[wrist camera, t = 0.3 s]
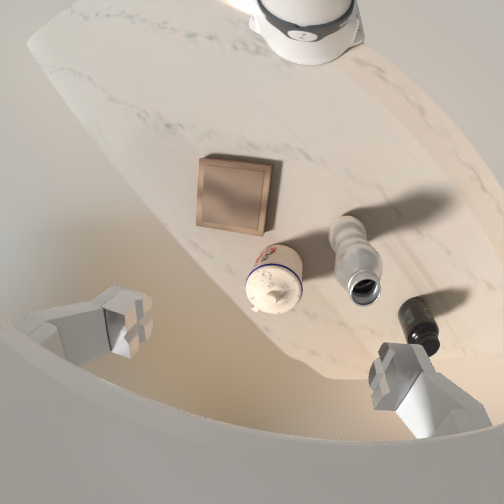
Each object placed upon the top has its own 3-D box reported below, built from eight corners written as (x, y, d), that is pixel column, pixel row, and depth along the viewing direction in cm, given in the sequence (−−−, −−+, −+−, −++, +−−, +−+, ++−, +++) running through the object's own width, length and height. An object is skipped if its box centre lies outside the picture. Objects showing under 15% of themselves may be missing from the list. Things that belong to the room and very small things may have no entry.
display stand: (203, 157, 45) (199, 158, 43) (272, 165, 44) (271, 166, 42) (200, 222, 51) (196, 225, 49) (264, 232, 49) (262, 236, 47)
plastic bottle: (326, 247, 48) (333, 316, 30) (328, 210, 45) (341, 263, 27) (361, 249, 47) (385, 318, 29) (365, 213, 44) (399, 266, 26)
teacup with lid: (271, 233, 49) (260, 262, 38) (313, 259, 49) (314, 294, 39) (239, 281, 54) (222, 316, 44) (278, 304, 55) (270, 343, 44)
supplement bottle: (432, 305, 48) (451, 342, 37) (411, 327, 51) (426, 366, 40) (412, 291, 48) (430, 329, 37) (391, 315, 51) (404, 355, 40)
